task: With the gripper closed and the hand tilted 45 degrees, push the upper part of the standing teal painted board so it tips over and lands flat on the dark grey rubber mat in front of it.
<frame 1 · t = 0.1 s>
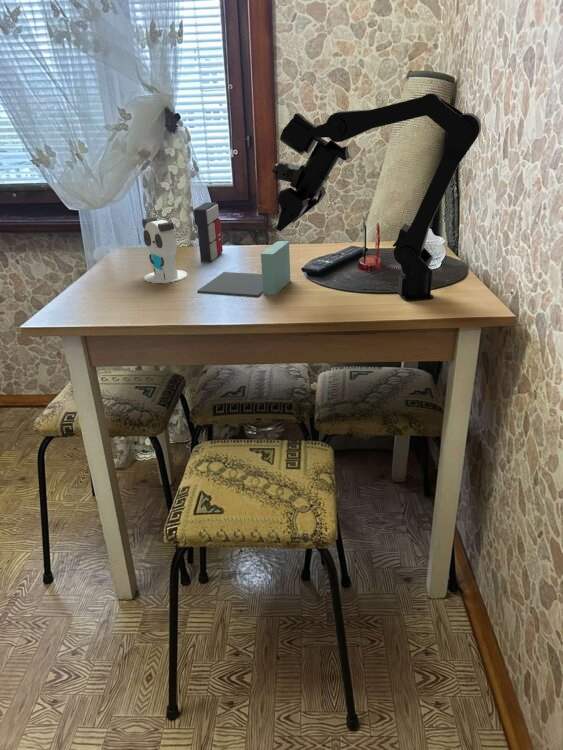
hand: (285, 225, 134), 15 cm above the table, tool tilted 35°, fingers open, 9 cm apart
panda figurine: (165, 277, 153), on the table
board: (277, 287, 141), on the table
mat: (240, 284, 144), on the table
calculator: (211, 258, 168), on the table
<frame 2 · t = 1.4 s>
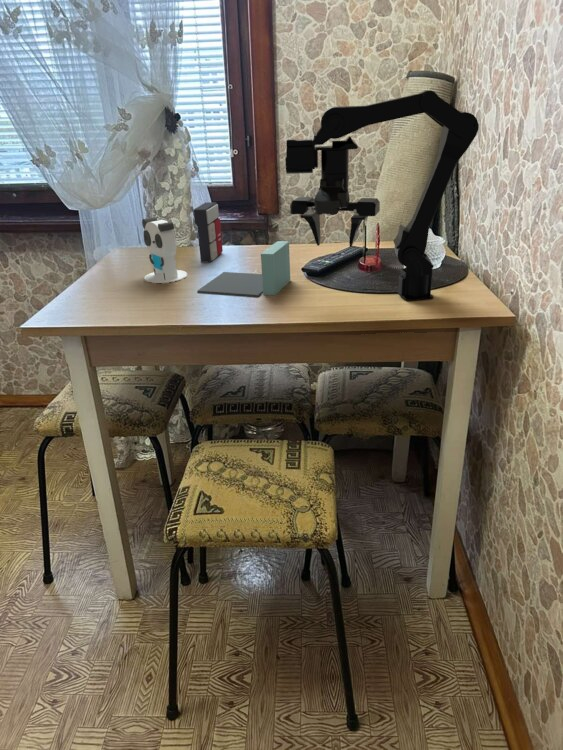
hand: (334, 245, 127), 12 cm above the table, tool pointing down, fingers open, 7 cm apart
nothing on the table moved.
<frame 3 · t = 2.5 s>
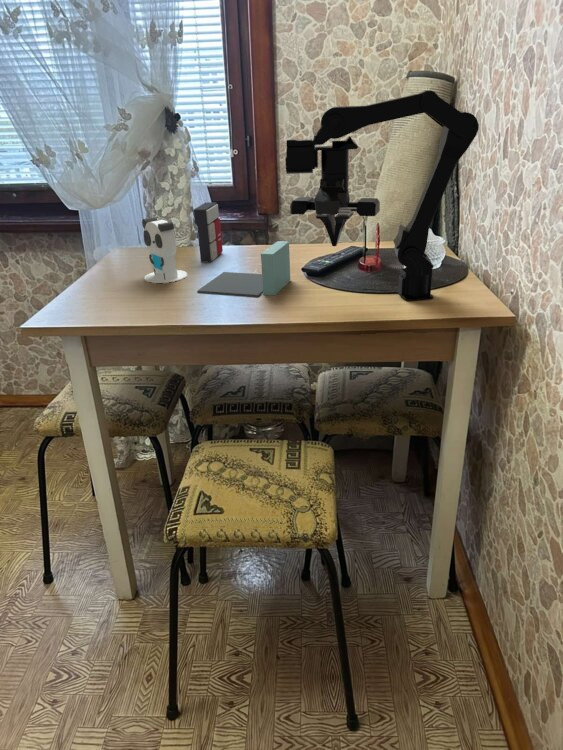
hand: (334, 245, 127), 12 cm above the table, tool pointing down, fingers closed
nothing on the table moved.
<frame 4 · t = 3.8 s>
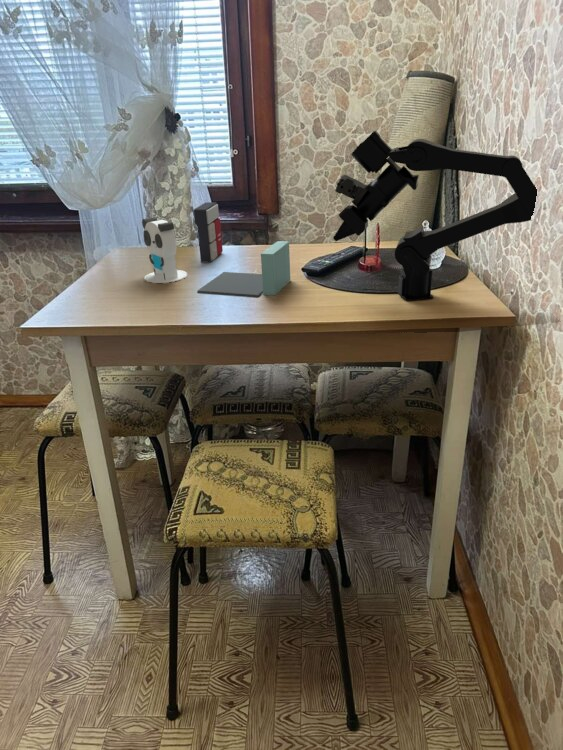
hand: (334, 239, 131), 12 cm above the table, tool tilted 45°, fingers closed
nothing on the table moved.
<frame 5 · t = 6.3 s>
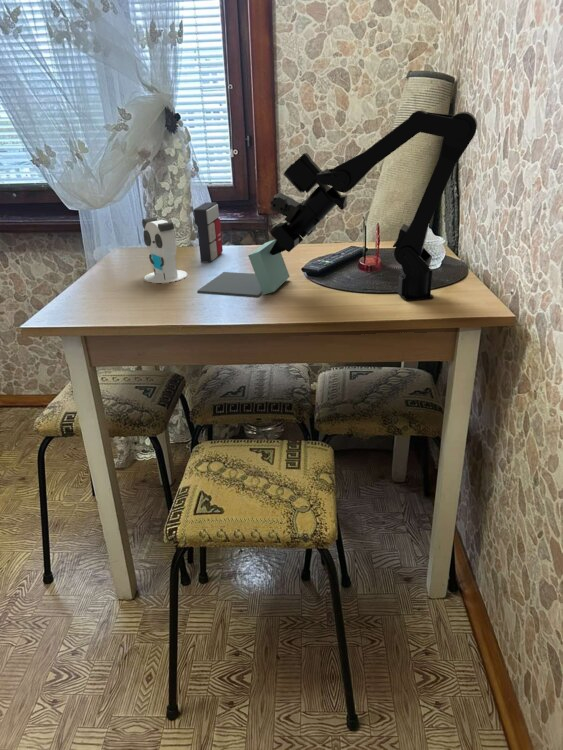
hand: (271, 253, 137), 8 cm above the table, tool tilted 45°, fingers closed
board: (276, 285, 141), on the table, tilted 19°
everything else where it was.
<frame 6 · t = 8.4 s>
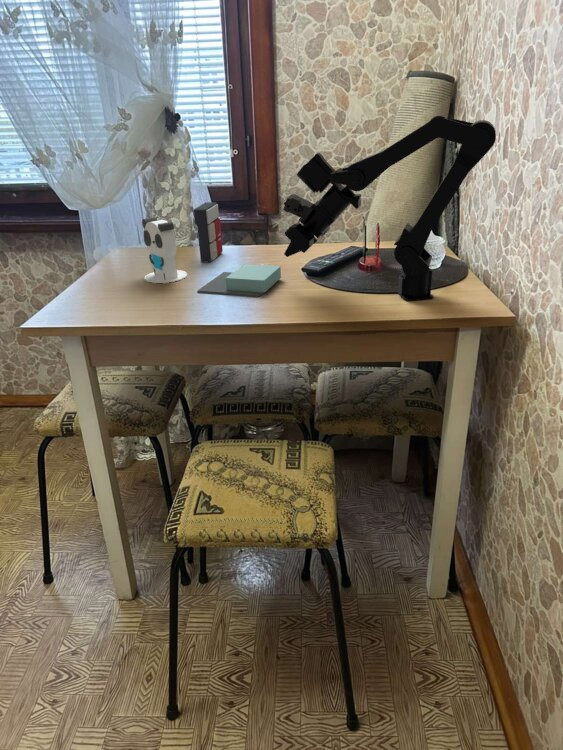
hand: (285, 255, 136), 8 cm above the table, tool tilted 45°, fingers closed
board: (272, 279, 140), point 2 cm above the table, tilted 90°, touching mat
everything else where it was.
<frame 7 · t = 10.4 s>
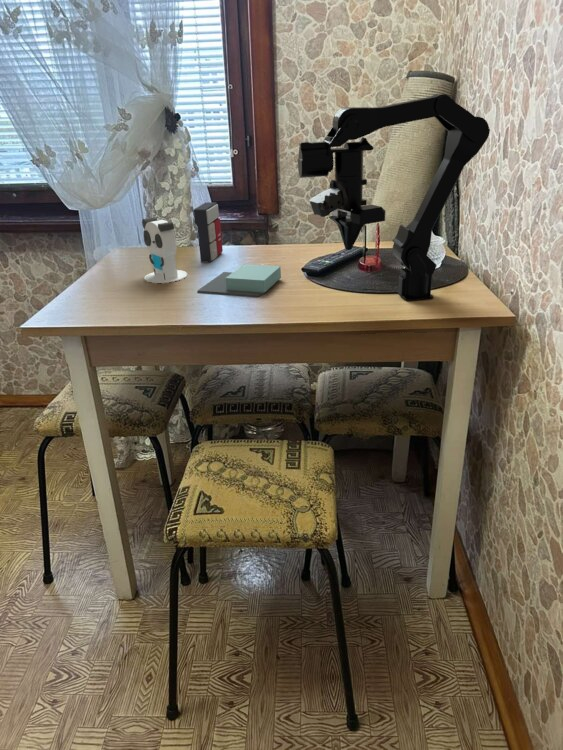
hand: (348, 249, 124), 12 cm above the table, tool pointing down, fingers closed
nothing on the table moved.
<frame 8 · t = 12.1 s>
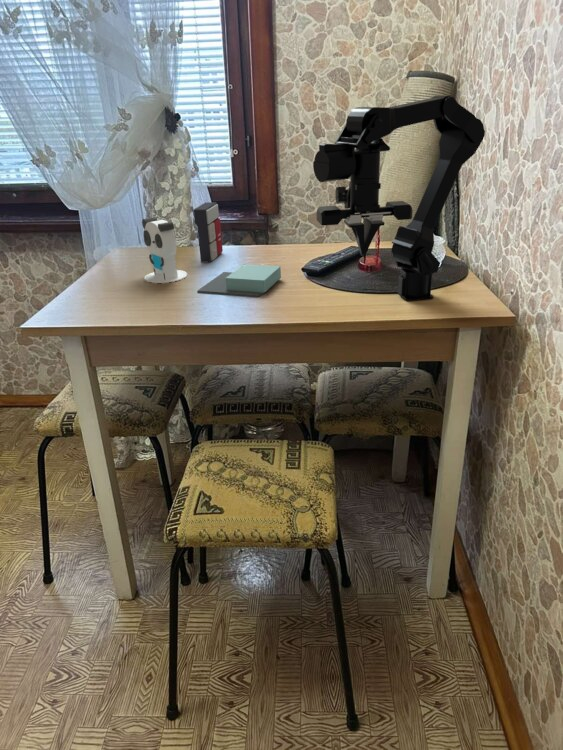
hand: (363, 254, 119), 12 cm above the table, tool pointing down, fingers closed
nothing on the table moved.
at the end: board tilted 90°; board inside the target area (6.6 cm from its centre), point 2.0 cm above the table; board touching mat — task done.
